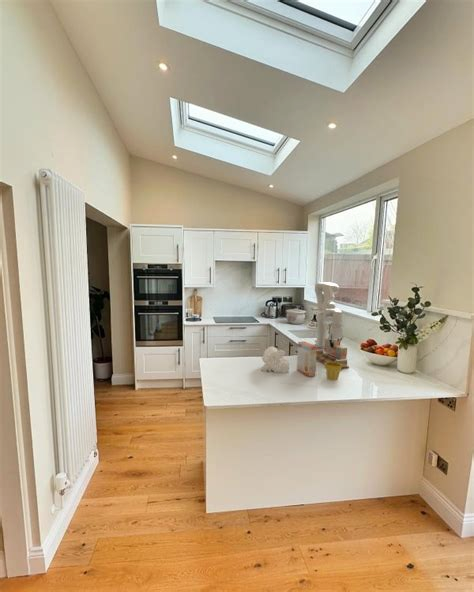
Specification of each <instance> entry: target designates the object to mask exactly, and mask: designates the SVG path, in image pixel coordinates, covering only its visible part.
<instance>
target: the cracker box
mask: <svg viewBox="0 0 474 592" xmlns="http://www.w3.org/2000/svg"><path fill="white" fill-rule="evenodd" d="M317 350H318V347H317V346H315V344H312V343H310V342H307V341H305V340H304V341H298V342H297V357H296V360H297V361H296V371H298V372H299V373H300V374H303V375H304V376H306V377H309V378H310V377H315V376H316V368H317V367H316V366H317V361H316V354H317Z"/></svg>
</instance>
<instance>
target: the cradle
mask: <svg viewBox="0 0 474 592" xmlns="http://www.w3.org/2000/svg"><path fill="white" fill-rule="evenodd" d="M316 362H318V363H320V364H323V365H324V366H325V363H326V362H337V363H340V364H341V365H342V367H341V370H345V369H346V370H347V369H350V366H349V365H348V359H347V358H346V359H338V358H336V357H334V356H332V355H328V354H327V353H324V349H317V354H316Z"/></svg>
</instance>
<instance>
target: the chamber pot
mask: <svg viewBox="0 0 474 592" xmlns="http://www.w3.org/2000/svg"><path fill="white" fill-rule="evenodd" d="M285 312H286V315H285V316H286V320H287V322H288V323H289V324H291V325H301V324H303V323H304V321H305V319H306V313H307V311H306V310H304V309H299V308H296V307H295V308H293V309H292V308H290V309H286V310H285Z"/></svg>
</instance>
